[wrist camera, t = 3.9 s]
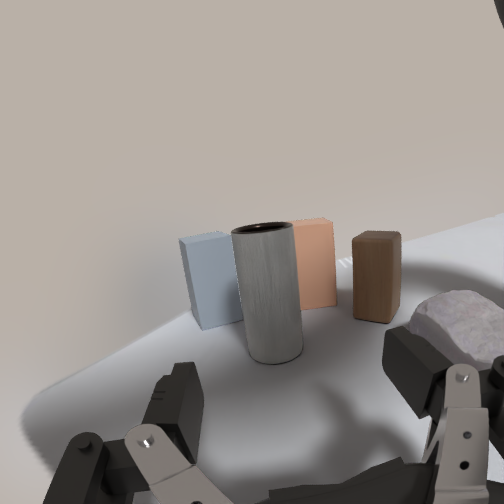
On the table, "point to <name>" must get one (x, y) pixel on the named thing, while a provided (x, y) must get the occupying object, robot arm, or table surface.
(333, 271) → the terracotta block
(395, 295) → the wooden block
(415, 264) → the table surface
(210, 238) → the slate-blue block
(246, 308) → the planter
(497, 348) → the stone block
